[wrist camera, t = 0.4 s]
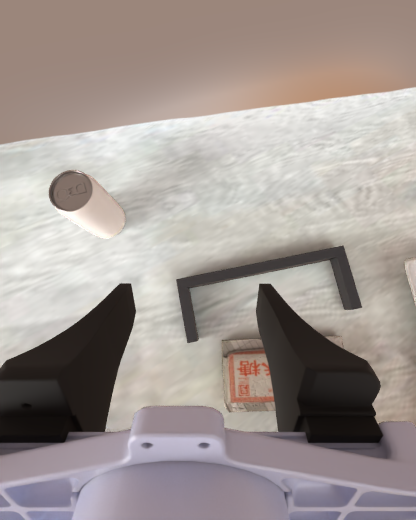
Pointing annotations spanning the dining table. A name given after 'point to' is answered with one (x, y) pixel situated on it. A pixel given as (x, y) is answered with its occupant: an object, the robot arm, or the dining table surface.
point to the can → (86, 204)
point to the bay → (332, 254)
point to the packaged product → (249, 375)
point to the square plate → (411, 275)
